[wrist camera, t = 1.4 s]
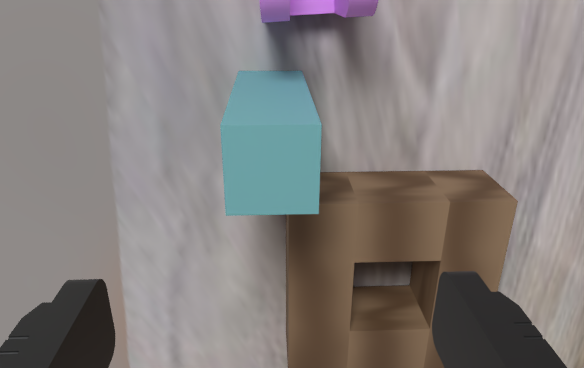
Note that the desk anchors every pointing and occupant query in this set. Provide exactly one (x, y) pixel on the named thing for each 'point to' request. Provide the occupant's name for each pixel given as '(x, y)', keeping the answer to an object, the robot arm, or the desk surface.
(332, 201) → the socket block
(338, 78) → the desk surface
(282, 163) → the peg
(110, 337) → the robot arm
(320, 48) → the desk surface
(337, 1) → the bracket
